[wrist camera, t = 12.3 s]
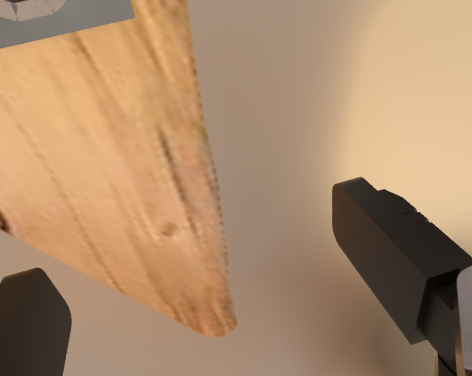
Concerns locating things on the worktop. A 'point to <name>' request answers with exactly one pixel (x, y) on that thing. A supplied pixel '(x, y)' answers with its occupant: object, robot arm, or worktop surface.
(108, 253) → the worktop surface
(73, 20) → the fitting mat
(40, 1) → the ring collar
